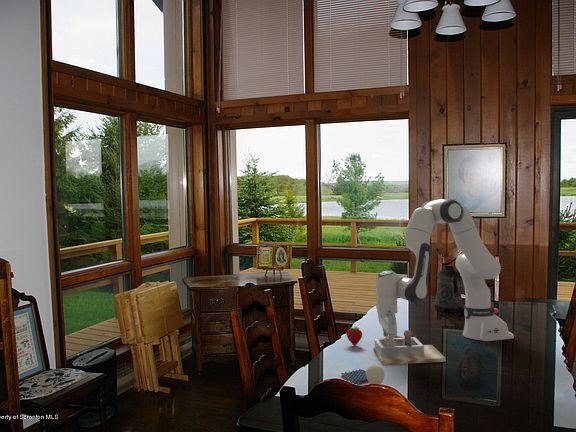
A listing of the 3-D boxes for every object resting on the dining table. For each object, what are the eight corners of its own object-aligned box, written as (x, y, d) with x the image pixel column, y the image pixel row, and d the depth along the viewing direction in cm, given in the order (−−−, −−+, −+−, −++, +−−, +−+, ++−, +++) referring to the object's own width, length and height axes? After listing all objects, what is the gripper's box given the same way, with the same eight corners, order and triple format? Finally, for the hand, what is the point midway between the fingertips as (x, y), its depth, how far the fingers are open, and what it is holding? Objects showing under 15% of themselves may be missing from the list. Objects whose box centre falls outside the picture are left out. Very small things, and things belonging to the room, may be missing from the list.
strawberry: (348, 342, 240) (348, 321, 239) (364, 344, 236) (363, 322, 236) (344, 346, 234) (343, 324, 234) (360, 348, 231) (359, 326, 231)
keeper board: (431, 348, 227) (431, 323, 227) (445, 361, 209) (445, 334, 209) (373, 350, 227) (372, 325, 226) (382, 364, 209) (381, 337, 208)
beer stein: (439, 304, 310) (438, 263, 308) (472, 308, 298) (471, 265, 297) (429, 310, 296) (428, 267, 295) (463, 314, 285) (462, 269, 284)
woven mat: (354, 387, 187) (354, 381, 187) (339, 377, 197) (339, 372, 197) (378, 382, 192) (378, 376, 192) (363, 373, 201) (362, 368, 201)
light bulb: (364, 393, 180) (363, 362, 180) (382, 391, 181) (381, 361, 180) (368, 400, 174) (367, 368, 173) (387, 399, 174) (386, 367, 174)
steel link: (415, 346, 226) (415, 337, 226) (424, 355, 213) (423, 346, 213) (374, 347, 226) (374, 338, 226) (381, 357, 213) (380, 347, 213)
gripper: (400, 313, 214) (401, 346, 214) (389, 302, 234) (390, 332, 235) (385, 314, 214) (386, 347, 214) (375, 303, 234) (376, 333, 235)
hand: (388, 339), depth 225 cm, fingers open, 8 cm apart
